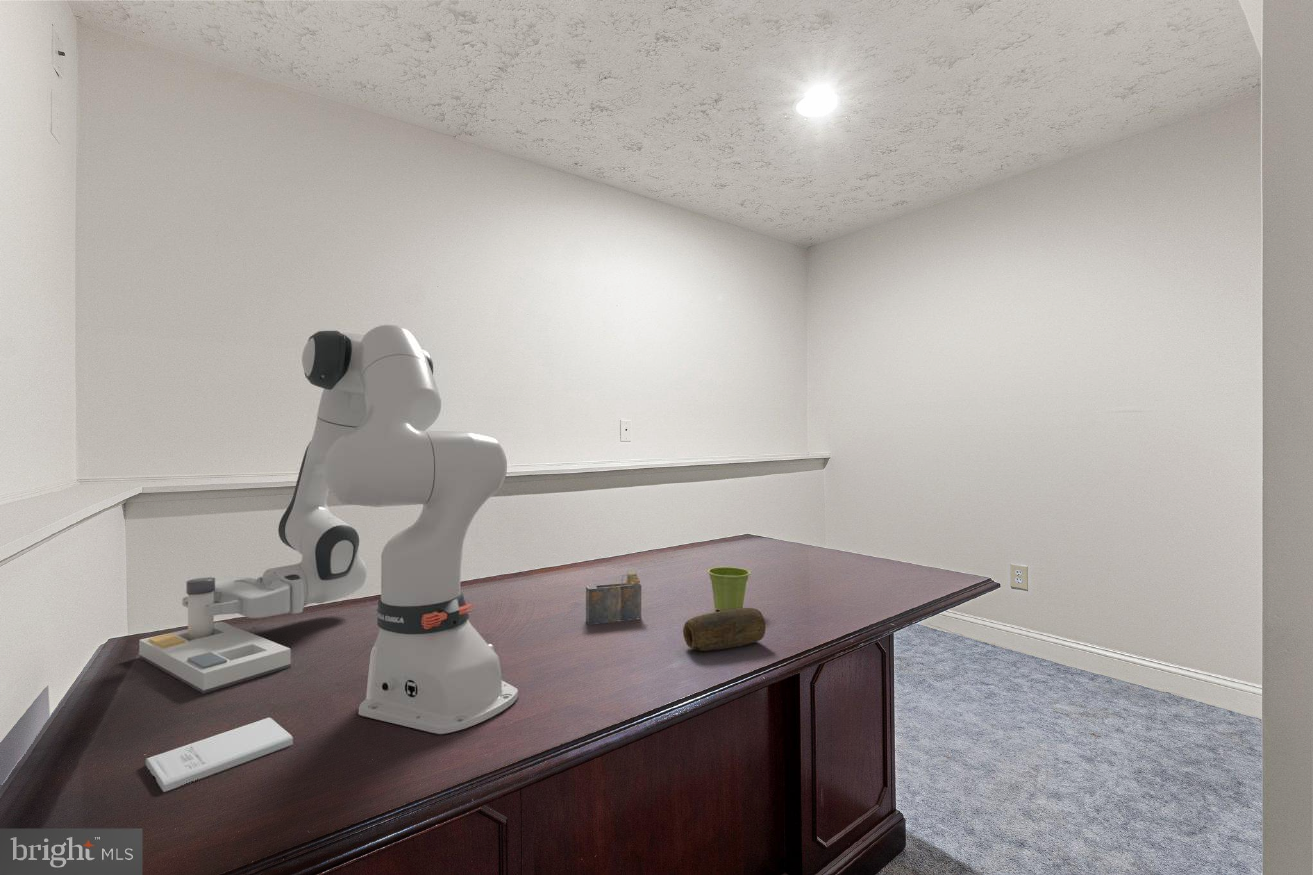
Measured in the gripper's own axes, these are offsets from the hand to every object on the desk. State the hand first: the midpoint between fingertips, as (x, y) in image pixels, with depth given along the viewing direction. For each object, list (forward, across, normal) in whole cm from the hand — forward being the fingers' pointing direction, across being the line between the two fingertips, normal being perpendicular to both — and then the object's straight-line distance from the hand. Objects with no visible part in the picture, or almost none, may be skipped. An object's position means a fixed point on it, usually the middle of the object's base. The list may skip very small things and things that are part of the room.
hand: (194, 606), depth 102 cm
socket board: (0, +8, +8) cm, 11 cm away
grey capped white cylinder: (-1, 0, +8) cm, 8 cm away
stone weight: (-54, +77, +8) cm, 94 cm away
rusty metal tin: (-55, +51, +9) cm, 76 cm away
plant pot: (-75, +68, +8) cm, 101 cm away
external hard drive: (+12, +42, +9) cm, 45 cm away
